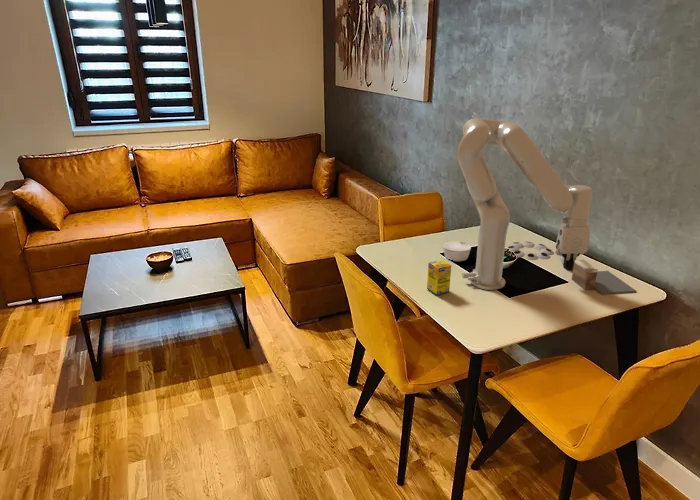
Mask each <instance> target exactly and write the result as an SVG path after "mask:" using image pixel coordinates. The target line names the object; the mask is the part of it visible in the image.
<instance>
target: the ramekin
mask: <svg viewBox="0 0 700 500" xmlns="http://www.w3.org/2000/svg"><path fill="white" fill-rule="evenodd" d="M442 247H443V251H444V252H443V255H444V256H445V259H447V260H448V259H450V260H449V261H451V260H453V261H452V262H464V261H466V260H467V259H468V258H469V256H470V252H471V250H472V247H471V245H470V244H468V243H466V242H465V241H464V242H463V241H457V240H452V241H447V242H445V243H443V246H442Z"/></svg>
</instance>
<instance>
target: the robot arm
mask: <svg viewBox="0 0 700 500" xmlns="http://www.w3.org/2000/svg"><path fill="white" fill-rule="evenodd" d="M462 135H463V136H462V138H461V140H460V142H459V143H458V146H457V151H456V152H457V153H456V157H457V162H458V165H459V168H460V170H461V172H462V175H463V177H464V179H465V181H466V182H465V183H466V187H467V190H468V192H469V194H470V196H471V198H472V201H473V203H474V205H475V208H476V210H477V212H478V214H479V218H480V225H479V229H478V238H477V249H476V262H475V268H473V269H472V271H470V272H464V273H463V272H462V274H461V277H462V279H467V281H469V282H470V284H471V285H472V286H474V287H476V288H478V289H482V290H487V291H488V290H489V291H496V290H499V289H502V288H504V287H505V285H506V280H505V279H504V278H503V277H502V276H503V267H504V266H503V265H504V257H505V251H506V240H507V235H508V234H507V233H508V229H509V225H510V217H511V216H510V212H509V209H508V207H507V204H506V203H505V202H504V200H503V199H502V196H501V194H500V192H499V189H498V187H497V182H496V180H495V178H494V176H493V175H492V173H491V171H490V169H489V166H488V163H487V161H486V159H485V155H484V151H485V148H486V146H487V145H492V146H500V147H501V148H502V150H504V152H505V153H506V155H507V156H508V157H509V158H510V159H511V161H512V162H513V163H514V165H515V166H516V167H517V168H518V170H519V171H520V173H521V174H522V175H523V176H524V177H525V179H527V180H528V181H529V182H530V183H531V184H532V185H533V187H535V189H536V190H537V191H538V192H539V194H540V195H541V196H542V198H543V200H544V201H545V203H546V204H547V205H548V206H549V207H550V209H551V210H552V211H554V212H557V213H564V216H563V218H560V222H561V225H560V228H559V230H558V234H557V238H556V243H555V249H556V250H555V252H554V254H556V256H559V257H560V256H563V258H564V263H562V267H563V269H565V270H566V271H573V269H572V268H574V266H573V265H574V263H575V260H577V258H578V257H579V256H580V255H581V256H582V255H584V254H586V253H587V252H588V251H589V246H590V245H589V244H590V237H591V235H590V225H589V224H588V221H589V215H590V211H591V204H592V201H593V200H592V199H593V194H594V192H593V189H592V188H591V187H590V186H587V185H582V184H574V185H568V184H565V183H564V182H563V181H562V180H561V178H560V176H558V174H557V173H556V172H555V170H554V169H553V167H552V166H551V165H550V163H549V162H548V160H547V159H546V158H545V156H544V155H543V154H542V153H541V151H540V149H539V148H538V147H537V146H536V145H535V143H534V142H533V140H532V139H531V138H530V136H529V135H528V133H526V131H525V130H524V129H523V128H522V127H521V126H520V125H518V124H517V123H515V122H513V121H505V120H496V119H489V118H488V119H487V118H480V117H474V118H471V119H469V120H468V121H466V122H465V123H464V125H463V127H462Z"/></svg>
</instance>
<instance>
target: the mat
mask: <svg viewBox="0 0 700 500" xmlns="http://www.w3.org/2000/svg"><path fill="white" fill-rule="evenodd" d="M594 290H595V291H596V292H598V293H599V294H600V295H615V294H616V295H617V294H631V293H637V290H636V289H634V287H632V286H630V285H629V284H628V283H626V282H625V281H623V280H622V279H620V278H619V277H618V276H616V275H615V274H613V273H612V272H610V271H609V270H601V271H599V270H598V271H597V276H596V281H595V287H594Z"/></svg>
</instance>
